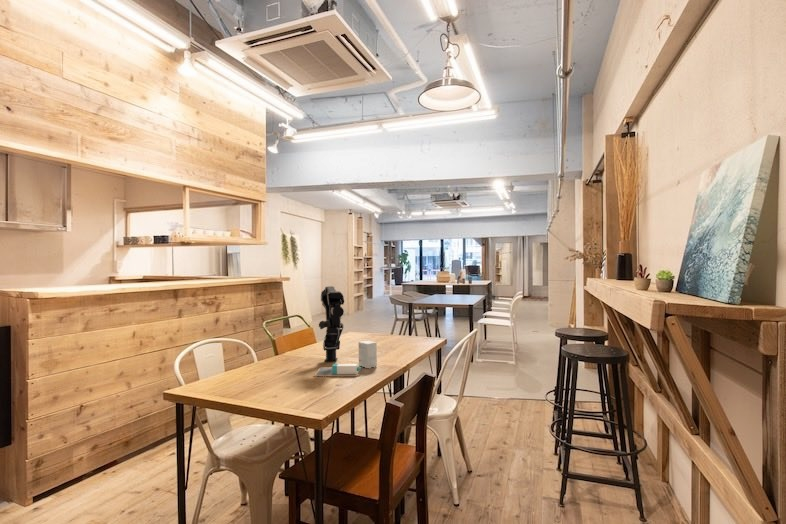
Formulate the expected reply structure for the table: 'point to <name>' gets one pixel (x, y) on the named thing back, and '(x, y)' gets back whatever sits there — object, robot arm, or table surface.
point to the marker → (345, 369)
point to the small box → (367, 354)
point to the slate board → (330, 372)
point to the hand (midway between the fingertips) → (335, 344)
